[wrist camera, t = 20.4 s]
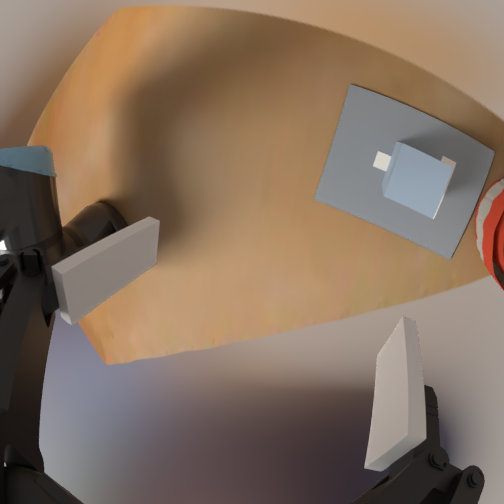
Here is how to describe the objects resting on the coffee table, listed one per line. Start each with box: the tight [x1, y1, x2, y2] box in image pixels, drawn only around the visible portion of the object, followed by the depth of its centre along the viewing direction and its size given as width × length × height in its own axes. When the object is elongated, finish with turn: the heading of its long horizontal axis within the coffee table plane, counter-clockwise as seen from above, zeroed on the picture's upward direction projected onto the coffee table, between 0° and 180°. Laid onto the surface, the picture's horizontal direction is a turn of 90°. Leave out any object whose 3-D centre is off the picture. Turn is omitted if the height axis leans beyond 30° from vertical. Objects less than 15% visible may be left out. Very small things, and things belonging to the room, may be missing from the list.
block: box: [382, 142, 453, 219], centre depth 24 cm, size 5×5×7 cm
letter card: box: [314, 84, 495, 260], centre depth 28 cm, size 18×14×1 cm
